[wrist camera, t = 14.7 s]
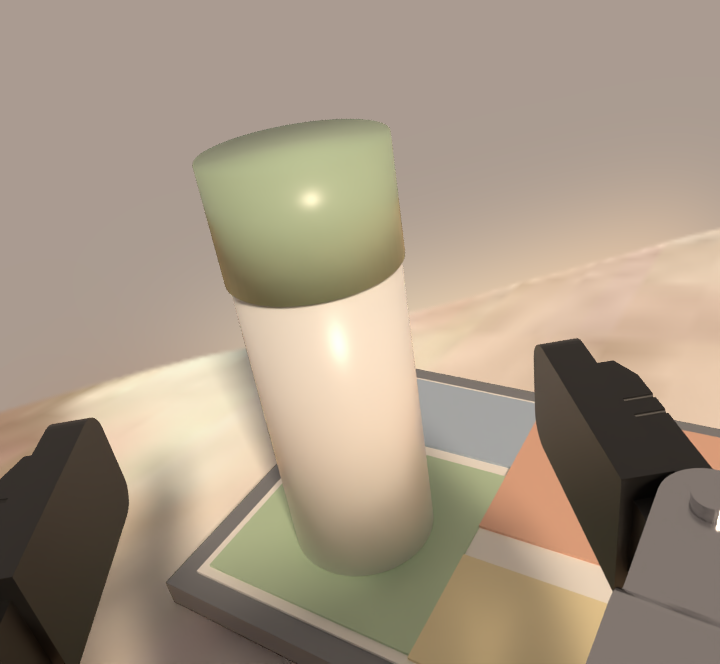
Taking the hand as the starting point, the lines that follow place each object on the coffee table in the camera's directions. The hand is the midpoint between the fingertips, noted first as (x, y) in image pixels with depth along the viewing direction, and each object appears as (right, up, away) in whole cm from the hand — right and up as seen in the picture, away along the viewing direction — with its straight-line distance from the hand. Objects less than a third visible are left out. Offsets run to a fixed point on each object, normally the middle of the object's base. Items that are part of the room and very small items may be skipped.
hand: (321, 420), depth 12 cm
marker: (+1, -4, +9) cm, 10 cm away
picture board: (+5, -5, +9) cm, 12 cm away
